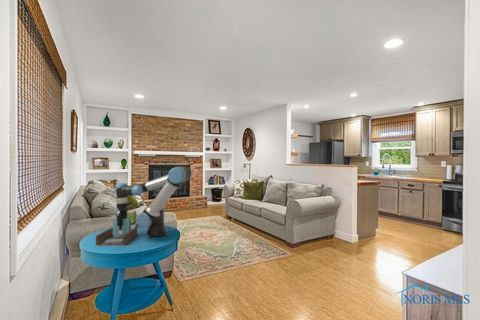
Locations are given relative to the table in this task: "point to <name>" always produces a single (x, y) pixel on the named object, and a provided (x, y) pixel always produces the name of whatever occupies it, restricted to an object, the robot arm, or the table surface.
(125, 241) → the rack
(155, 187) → the robot arm
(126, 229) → the teal rectangular slab
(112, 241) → the offcut upper
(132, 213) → the tea box
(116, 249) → the table surface
